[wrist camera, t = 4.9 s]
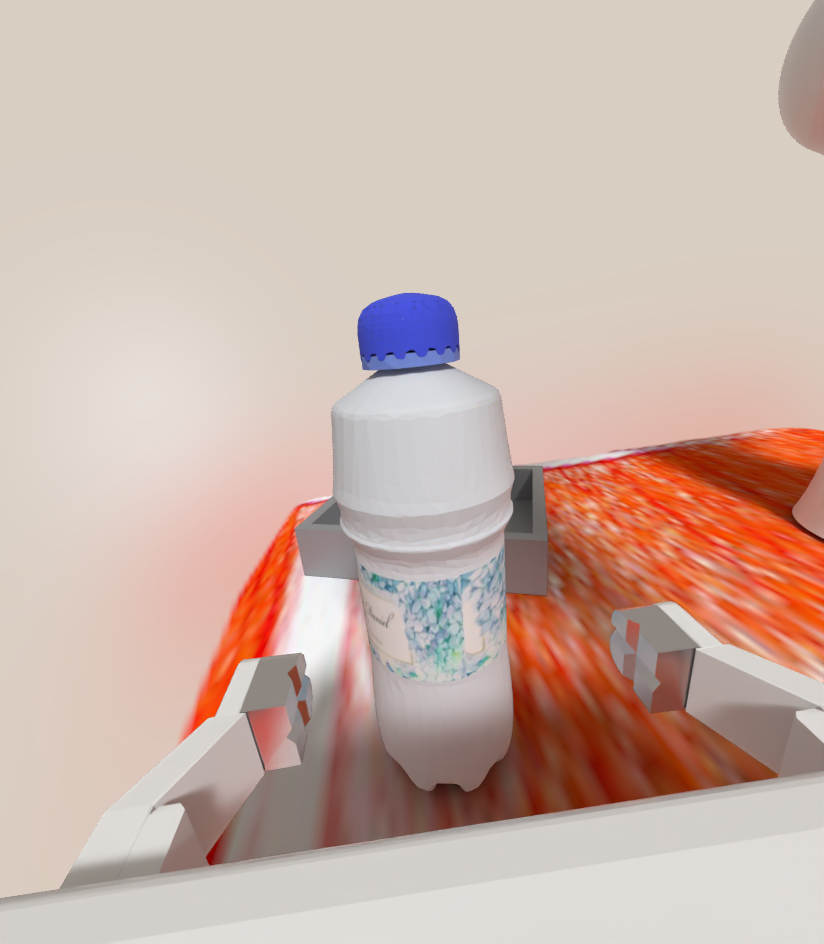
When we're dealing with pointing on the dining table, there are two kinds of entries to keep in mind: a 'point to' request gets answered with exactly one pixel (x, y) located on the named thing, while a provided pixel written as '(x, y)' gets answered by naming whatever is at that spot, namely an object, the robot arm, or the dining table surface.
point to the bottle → (428, 540)
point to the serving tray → (523, 538)
